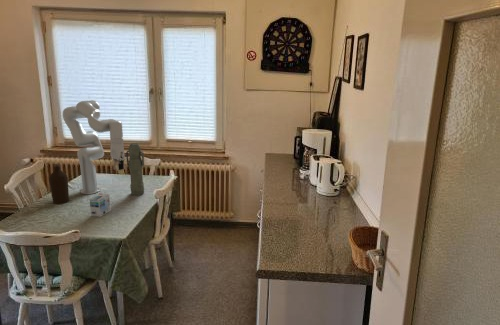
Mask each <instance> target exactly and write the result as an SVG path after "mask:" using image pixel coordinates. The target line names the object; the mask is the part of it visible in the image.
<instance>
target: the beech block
mask: <svg viewBox="0 0 500 325" xmlns="http://www.w3.org/2000/svg"><path fill="white" fill-rule="evenodd" d="M120 159H121V158H120ZM121 160H122V159H121ZM121 160H120V161H121ZM118 164H119V161H118V160H113V159H112V167H113V170H114V171H117V172H119V171H123V170H126V166H125V164H124V169H122V170H119V165H118Z"/></svg>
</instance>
